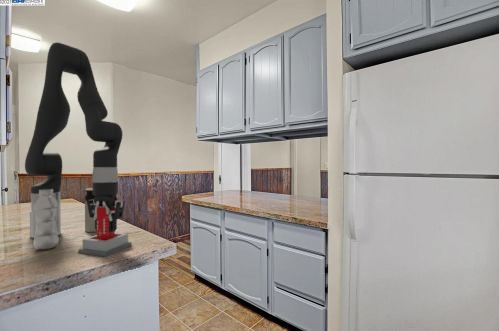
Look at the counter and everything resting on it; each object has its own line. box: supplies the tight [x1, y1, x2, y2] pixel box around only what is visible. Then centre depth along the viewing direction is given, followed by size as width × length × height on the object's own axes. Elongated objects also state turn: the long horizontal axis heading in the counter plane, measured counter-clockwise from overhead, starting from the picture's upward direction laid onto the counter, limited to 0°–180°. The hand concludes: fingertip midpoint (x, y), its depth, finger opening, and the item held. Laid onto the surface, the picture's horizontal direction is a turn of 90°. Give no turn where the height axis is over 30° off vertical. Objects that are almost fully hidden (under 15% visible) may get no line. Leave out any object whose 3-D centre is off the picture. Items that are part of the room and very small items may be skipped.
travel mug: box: [84, 187, 97, 233], centre depth 110 cm, size 8×8×18 cm
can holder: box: [78, 232, 132, 257], centre depth 86 cm, size 11×11×4 cm
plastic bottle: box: [33, 189, 60, 250], centre depth 86 cm, size 6×7×20 cm
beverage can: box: [96, 206, 116, 240], centre depth 86 cm, size 5×5×12 cm
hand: (105, 230), depth 86 cm, fingers closed on beverage can, 5 cm apart
